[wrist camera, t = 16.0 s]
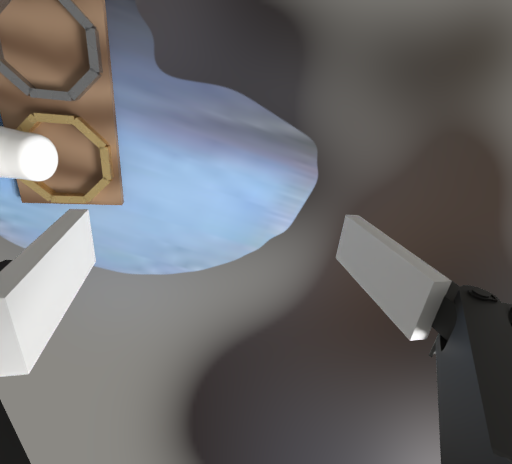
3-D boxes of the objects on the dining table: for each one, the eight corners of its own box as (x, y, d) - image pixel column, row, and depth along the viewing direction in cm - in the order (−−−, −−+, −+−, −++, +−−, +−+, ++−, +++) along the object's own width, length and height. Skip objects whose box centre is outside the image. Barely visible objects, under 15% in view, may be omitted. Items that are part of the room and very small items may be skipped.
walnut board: (-28, -31, 31) (-36, -36, 30) (104, -9, 34) (101, -12, 33) (26, 199, 41) (22, 202, 40) (123, 202, 44) (122, 205, 43)
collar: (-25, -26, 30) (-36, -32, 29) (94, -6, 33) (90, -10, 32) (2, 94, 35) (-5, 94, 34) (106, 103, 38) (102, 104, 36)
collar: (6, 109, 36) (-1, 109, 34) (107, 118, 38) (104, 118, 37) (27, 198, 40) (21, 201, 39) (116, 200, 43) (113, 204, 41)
